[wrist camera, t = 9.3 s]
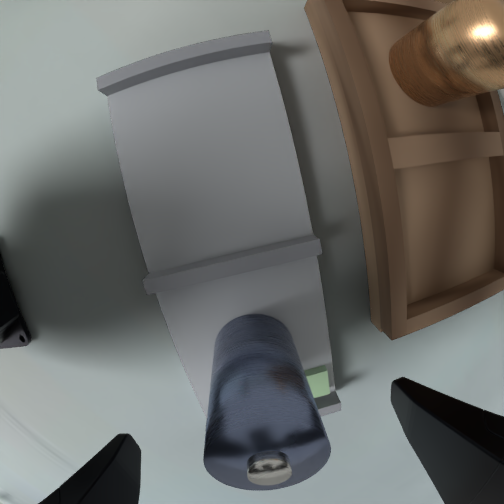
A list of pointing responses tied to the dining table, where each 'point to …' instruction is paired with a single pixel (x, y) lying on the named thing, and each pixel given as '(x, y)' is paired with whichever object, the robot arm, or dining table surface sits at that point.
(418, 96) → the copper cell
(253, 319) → the cylinder
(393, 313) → the tray
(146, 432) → the dining table surface
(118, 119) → the cradle
